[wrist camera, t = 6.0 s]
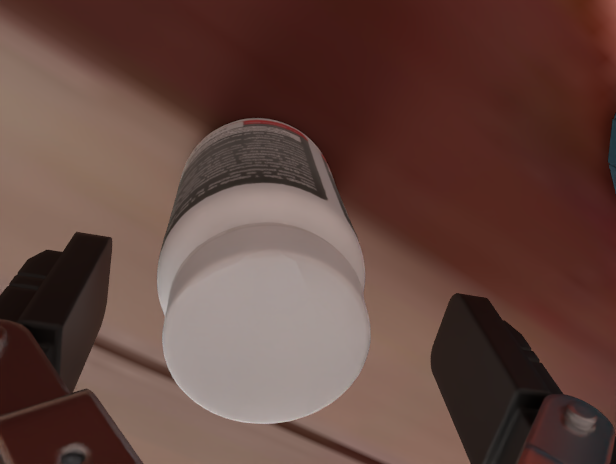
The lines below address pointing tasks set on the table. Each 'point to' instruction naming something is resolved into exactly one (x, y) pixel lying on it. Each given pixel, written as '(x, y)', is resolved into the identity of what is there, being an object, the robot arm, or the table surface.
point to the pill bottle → (261, 278)
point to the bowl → (613, 152)
